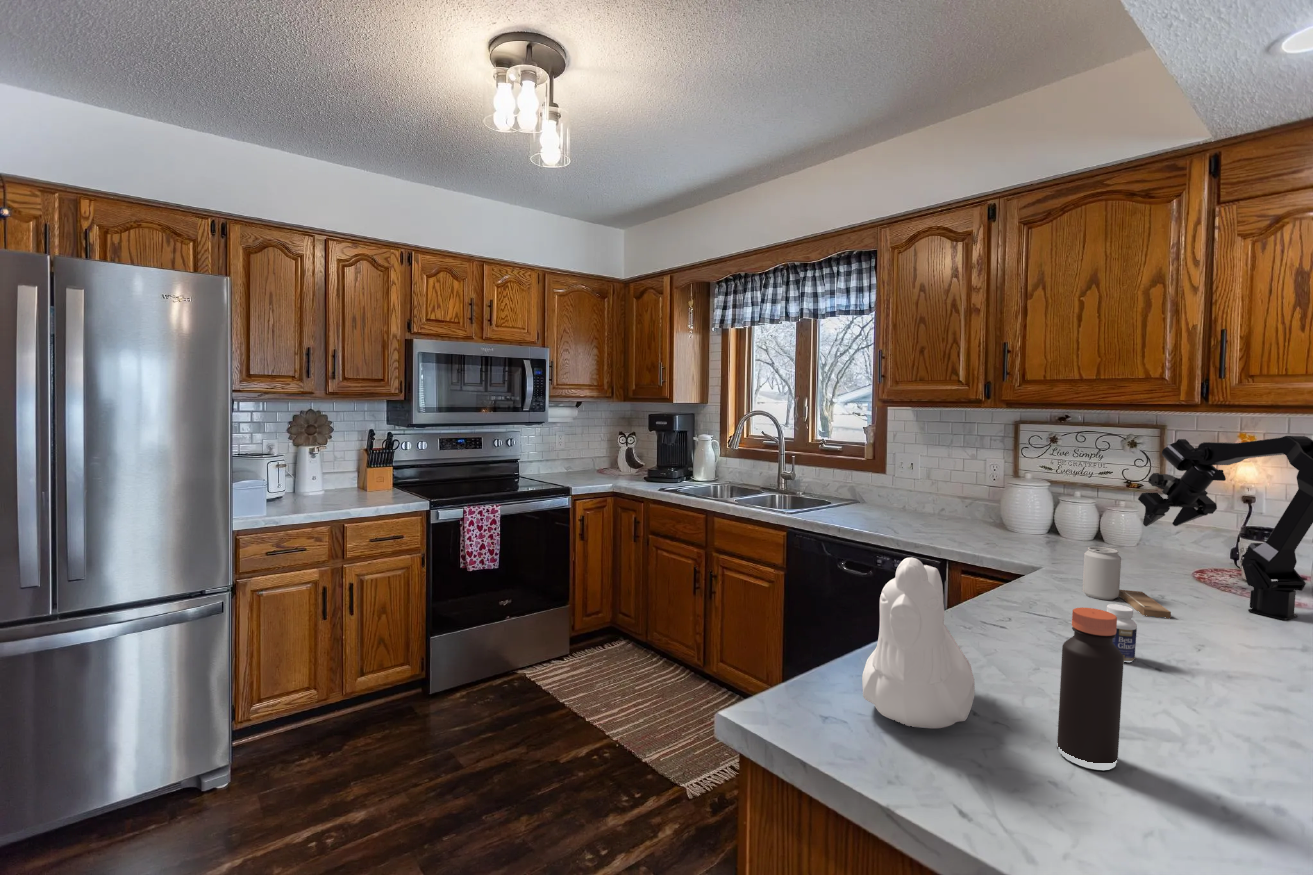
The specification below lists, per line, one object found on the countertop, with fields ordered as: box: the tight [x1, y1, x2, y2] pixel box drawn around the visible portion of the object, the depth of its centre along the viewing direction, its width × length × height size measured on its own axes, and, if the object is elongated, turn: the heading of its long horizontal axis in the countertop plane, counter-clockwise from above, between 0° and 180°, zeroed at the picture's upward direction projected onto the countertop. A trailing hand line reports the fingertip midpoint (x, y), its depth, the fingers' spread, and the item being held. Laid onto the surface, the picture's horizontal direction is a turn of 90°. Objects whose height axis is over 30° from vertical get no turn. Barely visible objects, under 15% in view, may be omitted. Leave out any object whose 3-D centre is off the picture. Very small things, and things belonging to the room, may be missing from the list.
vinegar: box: [1056, 607, 1125, 763], centre depth 85 cm, size 7×7×20 cm
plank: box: [1118, 589, 1172, 619], centre depth 150 cm, size 16×5×2 cm, turn 161°
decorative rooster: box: [861, 557, 976, 729], centre depth 98 cm, size 25×16×25 cm, turn 135°
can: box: [1082, 546, 1122, 601], centre depth 157 cm, size 8×8×12 cm
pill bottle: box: [1106, 603, 1138, 661], centre depth 119 cm, size 5×5×10 cm
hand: (1159, 525), depth 174 cm, fingers open, 9 cm apart
